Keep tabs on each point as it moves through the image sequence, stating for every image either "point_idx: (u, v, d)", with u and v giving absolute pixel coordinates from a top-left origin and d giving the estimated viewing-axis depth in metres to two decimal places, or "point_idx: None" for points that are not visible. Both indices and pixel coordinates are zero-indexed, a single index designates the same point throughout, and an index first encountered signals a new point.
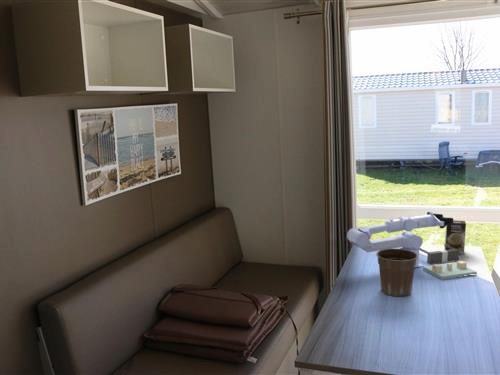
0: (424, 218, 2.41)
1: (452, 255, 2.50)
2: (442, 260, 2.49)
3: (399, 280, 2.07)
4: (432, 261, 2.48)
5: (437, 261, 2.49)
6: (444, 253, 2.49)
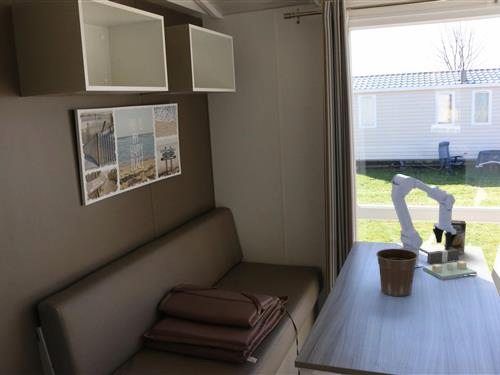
0: (451, 217, 2.46)
1: (452, 255, 2.50)
2: (442, 260, 2.49)
3: (399, 280, 2.07)
4: (432, 261, 2.48)
5: (437, 261, 2.49)
6: (444, 253, 2.49)
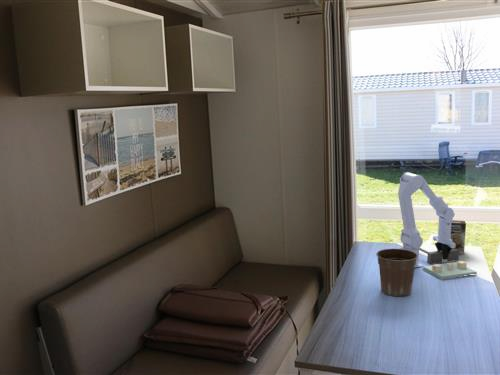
0: (450, 230, 2.47)
1: (452, 255, 2.50)
2: (442, 260, 2.49)
3: (399, 280, 2.07)
4: (432, 261, 2.48)
5: (437, 261, 2.49)
6: None
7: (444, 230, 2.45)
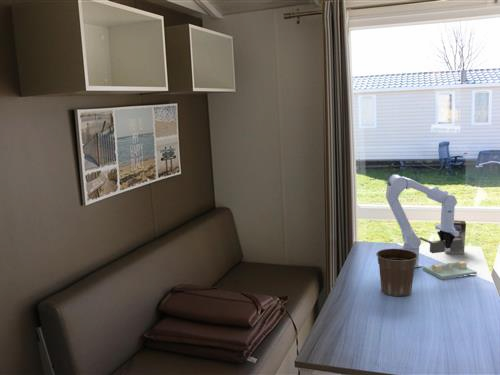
0: (453, 219, 2.39)
1: (455, 244, 2.44)
2: (445, 250, 2.43)
3: (399, 280, 2.07)
4: (435, 251, 2.41)
5: (440, 251, 2.42)
6: None
7: (445, 218, 2.39)
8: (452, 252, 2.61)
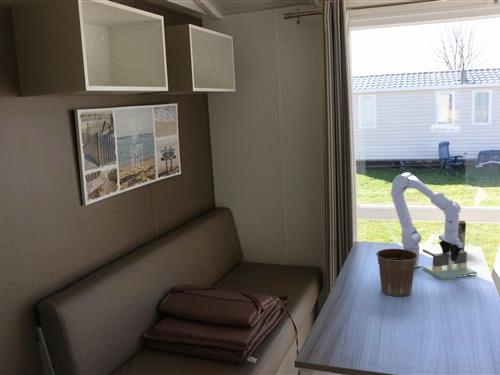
0: (454, 230, 2.29)
1: (459, 257, 2.35)
2: (448, 263, 2.33)
3: (399, 280, 2.07)
4: (438, 264, 2.32)
5: (443, 264, 2.33)
6: None
7: (446, 227, 2.31)
8: None
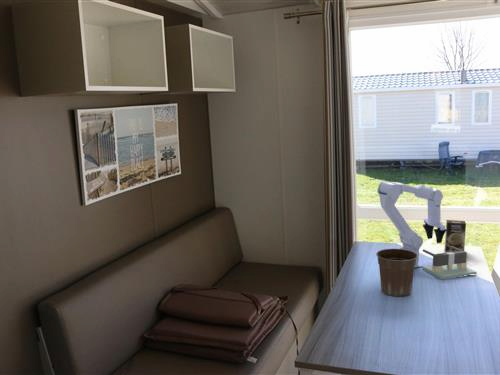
0: None
1: (459, 257, 2.35)
2: (448, 263, 2.33)
3: (399, 280, 2.07)
4: (438, 264, 2.32)
5: (443, 264, 2.33)
6: (451, 255, 2.33)
7: (434, 212, 2.43)
8: None
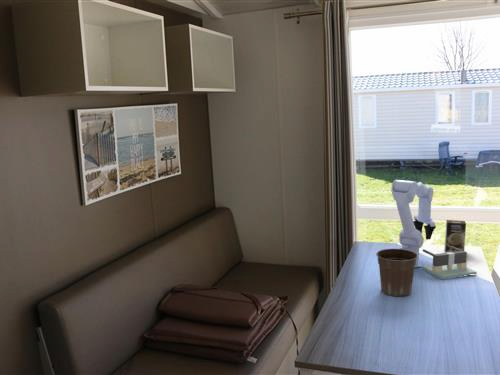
0: None
1: (459, 257, 2.35)
2: (448, 263, 2.33)
3: (399, 280, 2.07)
4: (438, 264, 2.32)
5: (443, 264, 2.33)
6: (451, 255, 2.33)
7: (427, 209, 2.50)
8: None
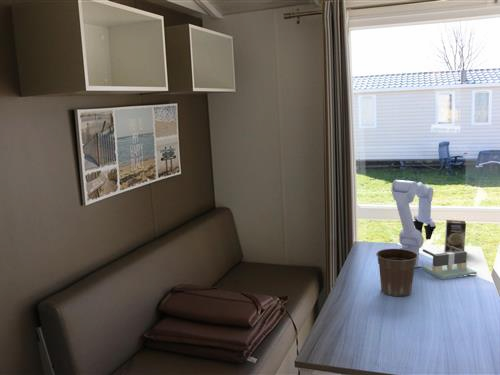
0: None
1: (459, 257, 2.35)
2: (448, 263, 2.33)
3: (399, 280, 2.07)
4: (438, 264, 2.32)
5: (443, 264, 2.33)
6: (451, 255, 2.33)
7: (427, 209, 2.50)
8: None
